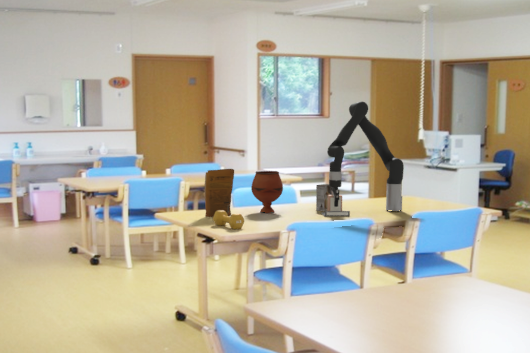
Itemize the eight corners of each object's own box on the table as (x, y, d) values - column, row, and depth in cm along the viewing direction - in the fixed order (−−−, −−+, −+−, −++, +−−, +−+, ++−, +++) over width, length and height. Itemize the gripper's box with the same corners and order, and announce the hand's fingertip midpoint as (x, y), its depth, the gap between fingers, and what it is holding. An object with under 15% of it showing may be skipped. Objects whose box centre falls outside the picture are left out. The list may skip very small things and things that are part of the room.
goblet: (245, 212, 451) (245, 171, 448) (263, 209, 466) (264, 169, 464) (270, 215, 439) (270, 173, 437) (288, 211, 455) (289, 171, 452)
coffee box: (323, 208, 470) (324, 183, 468) (332, 209, 466) (332, 184, 465) (315, 210, 463) (316, 184, 461) (324, 211, 459) (324, 185, 457)
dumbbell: (211, 225, 402) (211, 210, 401) (225, 224, 408) (225, 209, 407) (231, 230, 387) (232, 215, 387) (245, 228, 393) (245, 213, 392)
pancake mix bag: (236, 216, 436) (236, 168, 433) (205, 218, 428) (205, 169, 425) (231, 214, 442) (232, 168, 439) (201, 216, 434) (201, 168, 431)
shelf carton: (327, 212, 448) (327, 194, 447) (340, 212, 449) (340, 194, 448) (328, 214, 443) (329, 195, 442) (342, 213, 444) (342, 195, 443)
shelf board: (345, 213, 451) (345, 208, 451) (349, 216, 439) (349, 211, 439) (321, 213, 450) (321, 208, 449) (324, 216, 437) (324, 211, 437)
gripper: (326, 177, 451) (326, 204, 453) (331, 180, 437) (330, 207, 438) (338, 177, 452) (338, 204, 453) (343, 180, 438) (343, 207, 439)
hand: (334, 205), depth 446 cm, fingers open, 8 cm apart
